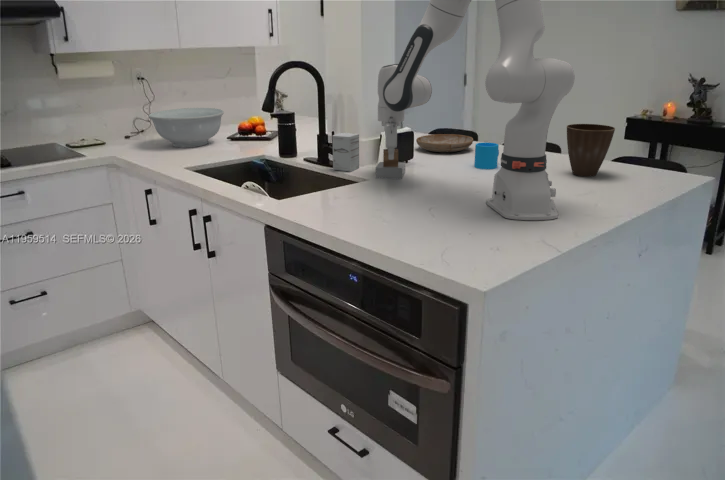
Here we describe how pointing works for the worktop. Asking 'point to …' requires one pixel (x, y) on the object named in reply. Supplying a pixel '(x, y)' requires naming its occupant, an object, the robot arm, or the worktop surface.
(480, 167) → the mug
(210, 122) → the bowl
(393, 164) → the walnut cube
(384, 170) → the grey base
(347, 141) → the supplement box
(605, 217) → the worktop surface
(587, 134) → the plant pot
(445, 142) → the shallow wooden dish
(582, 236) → the worktop surface
